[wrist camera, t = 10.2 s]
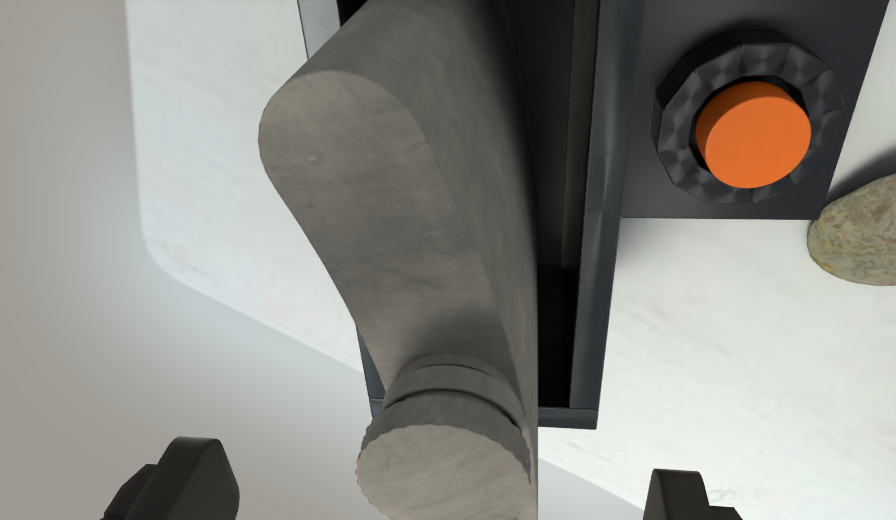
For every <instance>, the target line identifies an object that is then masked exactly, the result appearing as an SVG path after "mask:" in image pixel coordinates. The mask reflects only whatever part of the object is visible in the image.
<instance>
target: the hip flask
mask: <svg viewBox="0 0 896 520" xmlns="http://www.w3.org/2000/svg"><path fill="white" fill-rule="evenodd" d="M258 144H259V151H260V157H261V160H262V163H263V166H264V169H265V172H266V173H267V175H268V177H269V179H270V180H271V182H272V184H273V186H274V187H275V189H276V190H277V192H278V193H279V195H280V196H281V198H282V199H283V201H284V202H285V204H286V205H287V207H288V208H289V210H290V211H291V213H292V214H293V216H294V217H295V219H296V220H297V222H298V223H299V225H300V226H301V228H302V230H303V231H304V233H305V235H306V236H307V238H308V240H309V241H310V243H311V244H312V246H313V248H314V249H315V251H316V253H317V254H318V256H319V257H320V259H321V261H322V262H323V264H324V266H325V268H326V269H327V271H328V273H329V275H330V277H331V278H332V280H333V282H334V284H335V286H336V287H337V289H338V291H339V293H340V295H341V297H342V298H343V300H344V302H345V304H346V306H347V308H348V310H349V312H350V314H351V316H352V318H353V320H354V322H355V324H356V326H357V328H358V330H359V332H360V334H361V336H362V337H363V340H364V342H365V344H366V346H367V348H368V351H369V353H370V355H371V357H372V360H373V362H374V364H375V366H376V369H377V371H378V373H379V376H380V378H381V381H382V383H383V386H384V388H385V391H386V393H385V396H384V399H383V406H382V411H381V412H380V414H379V415H377V416H375V417H374V418H373V419H372V422H371V424H370V425H369V426H368V427H367V428H366V435H365V436H364V438H363V441H362V446H361V452H360V454H359V455H358V459H357V468H356V471H355V473H356V475H357V477H358V478H357V483H358V485H359V486H360V488H361V491H362V494H363V495H364V496H366V497H367V498H368V501H369V503H370V504H372V505H373V506H375V507H376V508H377V509H378V510H379V512H381V513H383V514H385V515H387V516H388V517H389V518H390V519H392V520H538V291H537V176H536V161H535V151H534V142H533V134H532V127H531V121H530V114H529V108H528V103H527V97H526V91H525V86H524V81H523V77H522V72H521V67H520V63H519V59H518V55H517V51H516V47H515V44H514V40H513V36H512V33H511V29H510V26H509V22H508V19H507V16H506V12H505V9H504V6H503V4H502V1H501V0H368V1H367V2H366V3H365V4H364V5H363V6H362V7H361V8H360V9H359V10H358V11H357V12H356V13H355V14H354V15H353V16H352V17H351V18H350V19H349V20H348V21H347V22H346V23H345V24H344V25H343V26H342V27H341V28H340V29H339V30H338V31H337V32H336V33H335V34H334V35H333V36H332V37H331V38H330V39H329V40H328V41H327V42H326V43H325V44H324V45H323V46H322V47H321V48H320V49H319V50H318V51H317V52H316V53H315V54H314V55H313V56H312V57H311V58H310V59H309V60H308V61H307V62H306V63H305V64H304V65H303V66H302V67H301V68H300V69H299V70H298V71H297V72H296V73H295V74H294V75H293V76H292V77H291V78H290V79H289V80H288V81H287V82H286V83H285V84H284V85H283V86H282V87H281V88H280V89H279V90H278V91H277V92H276V93H275V94H274V95H273V96H272V97H271V99H270V100H269V102H268V104H267V106H266V107H265V109H264V111H263V114H262V117H261V121H260V124H259V134H258Z"/></svg>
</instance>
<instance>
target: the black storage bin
mask: <svg viewBox="0 0 896 520" xmlns="http://www.w3.org/2000/svg"><path fill="white" fill-rule="evenodd" d="M367 1H368V0H297V3H298V8H299V14H300V19H301V25H302V31H303V36H304V42H305V47H306V53H307V58H308V60H309V59H310V58H311V57H312V56H313V55H314V54H315V53H316V52H317V51H318V50H319V49H320V48H321V47H322V46H323V45H324V44H325V43H326V42H327V41H328V40H329V39H330V38H331V37H332V36H333V35H334V34H335V33H336V32H337V31H338V30H339V29H340V28H341V27H342V26H343V25H344V24H345V23H346V22H347V21H348V20H349V19H350V18H351V17H352V16H353V15H354V14H355V13H356V12H357V11H358V10H359V9H360V8H361V7H362V6H363V5H364V4H365V3H366V2H367ZM644 9H645V0H575V18H574V36H573V54H572V72H571V90H570V109H569V127H568V145H567V163H566V181H565V199H564V218H563V236H562V254H561V267H553V266H537V291H538V427H554V428H573V429H591V430H596V428H597V420H598V412H599V403H600V394H601V385H602V376H603V368H604V359H605V350H606V341H607V333H608V324H609V315H610V306H611V298H612V289H613V280H614V271H615V263H616V254H617V245H618V236H619V228H620V219H621V210H622V201H623V192H624V184H625V175H626V166H627V157H628V149H629V140H630V131H631V122H632V114H633V105H634V96H635V87H636V79H637V70H638V61H639V52H640V44H641V35H642V26H643V17H644ZM356 330H357V336H358V341H359V347H360V352H361V358H362V363H363V369H364V374H365V380H366V385H367V391H368V396H369V402H370V407H371V413H372V417H373V418H374V417H375V416H377V415H379V414H380V412H381V411H382V406H383V399H384V396H385V393H386V391H385V388H384V386H383V383H382V381H381V378H380V376H379V373H378V371H377V369H376V366H375V364H374V362H373V360H372V357H371V355H370V353H369V351H368V348H367V346H366V344H365V342H364V340H363V337H362V336H361V334H360V332H359V330H358V328H357V326H356Z"/></svg>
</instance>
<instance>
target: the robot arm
mask: <svg viewBox="0 0 896 520" xmlns="http://www.w3.org/2000/svg"><path fill="white" fill-rule="evenodd" d="M238 507H239V487H238V484H237V482H236V479H235V477H234V474H233V471H232V469H231V467H230V464H229V461H228V459H227V456H226V454H225V451H224V449H223V446H222V444H221V442H220V441H219V440H218V439H211V438H194V437H177V438H175V439H174V440H173V441H172V442H171V443H170V444H169V446H168V447H167V449H166V451H165V452H164V454H163V455H162V457H161V459H160V460H159V462H158V464H157V465H154V464H146V465H145V466H144V467H142V468H141V469H140V470H139V471H138V472H137V473H136V474H135V475H134V476H132V477H131V478H130V479H129V480H128V481H127V482H126V483H125V484H124V485H122V486H121V488H120V489H119V491H118V492H117V494H116V495H115V497H114V499H113V500H112V502H111V504H110V505H109V506H108V508H107V510H106V511H105V513H104V518H103V519H100V520H235V519H236V515H237V512H238ZM643 520H743V519H742V518H741V517H740V515H739V514H738V513H737V511H736V510H735V508H734V507H721V506H709V502H708V498H707V494H706V490H705V486H704V482H703V479H702V476H701V474H700V473H699V472H698V471H684V470H668V469H654V470H653V472H652V475H651V481H650V486H649V491H648V496H647V501H646V506H645V511H644V516H643Z"/></svg>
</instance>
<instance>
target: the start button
mask: <svg viewBox="0 0 896 520" xmlns="http://www.w3.org/2000/svg"><path fill="white" fill-rule="evenodd" d="M810 139H811V126H810V122H809V119H808V117H807V115H806V114H805V112H804V111H803V110H802V109H801V107H800V106H799V105H798V104H797V103H796V102H795V101H794V100H793V99H792V98H791V97H790V96H789V95H788V94H787V93H786V92H785V91H784V90H783V89H781V88H780V87H778V86H776V85H774V84H772V83H769V82H764V81H747V82H742V83H738V84H735V85H733V86H730V87H728V88H726V89H725V90H723V91H721V92H720V93H719V94H717V95H716V96H715V97H714V98H713V99H711V100H710V102H709V103H708V104H707V105H706V106H705V108H704V109H703V111H702V113H701V114H700V117H699V119H698V122H697V126H696V141H697V145H698V148H699V150H700V152H701V154H702V156H703V158H704V160H705V162H706V164H707V166H708V167H709V169H710V171H711V172H712V173H713V175H714V176H715V177H716V178H718V179H719V180H720V181H722V182H724V183H726V184H728V185H731V186H734V187H739V188H755V187H761V186H765V185H768V184H771V183H773V182H775V181H777V180H779V179H781V178H783V177H784V176H786V175H787V174H788V173H790V172H791V171H792V170H793V169H794V168H795V167H796V166H797V165H798V164H799V163H800V161H801V160H802V159H803V157H804V155H805V154H806V152H807V149H808V147H809V144H810Z"/></svg>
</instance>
